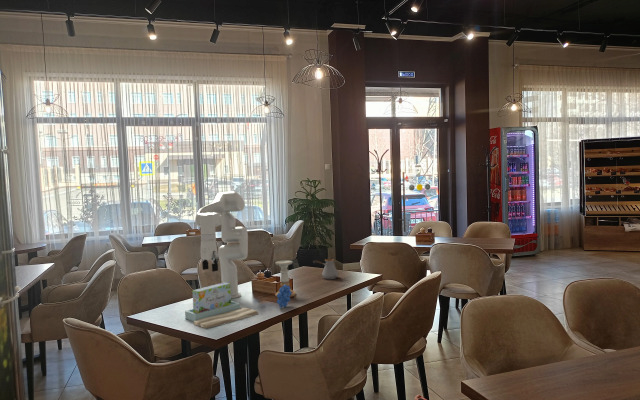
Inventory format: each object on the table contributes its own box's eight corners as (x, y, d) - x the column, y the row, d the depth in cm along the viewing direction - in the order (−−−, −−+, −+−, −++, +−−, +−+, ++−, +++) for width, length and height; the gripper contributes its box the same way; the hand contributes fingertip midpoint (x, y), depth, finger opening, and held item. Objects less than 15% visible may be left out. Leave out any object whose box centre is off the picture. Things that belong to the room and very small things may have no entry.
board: (193, 324, 227) (193, 321, 227) (244, 310, 248) (244, 307, 248) (206, 328, 218) (205, 325, 218) (257, 314, 239) (257, 311, 239)
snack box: (200, 320, 232) (198, 291, 232) (193, 319, 236) (191, 290, 235) (232, 310, 249) (230, 282, 249) (225, 308, 253) (223, 281, 252)
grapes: (285, 303, 257) (284, 282, 257) (294, 304, 253) (293, 283, 253) (271, 308, 248) (270, 286, 247) (281, 310, 244) (280, 287, 243)
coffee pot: (329, 275, 326) (328, 254, 325) (342, 277, 318) (341, 255, 318) (308, 281, 310) (307, 259, 310) (321, 283, 302) (320, 260, 302)
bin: (185, 318, 238) (184, 310, 237) (228, 307, 255) (228, 300, 255) (195, 322, 230) (195, 314, 229) (240, 310, 247) (239, 303, 247)
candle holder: (298, 296, 272) (296, 262, 271) (277, 298, 268) (275, 264, 268) (293, 291, 284) (291, 259, 283) (273, 294, 280) (271, 261, 279)
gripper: (193, 237, 245) (195, 269, 245) (210, 239, 232) (212, 273, 232) (206, 236, 250) (208, 267, 250) (223, 237, 237) (225, 270, 238)
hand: (210, 270), depth 241 cm, fingers open, 9 cm apart
